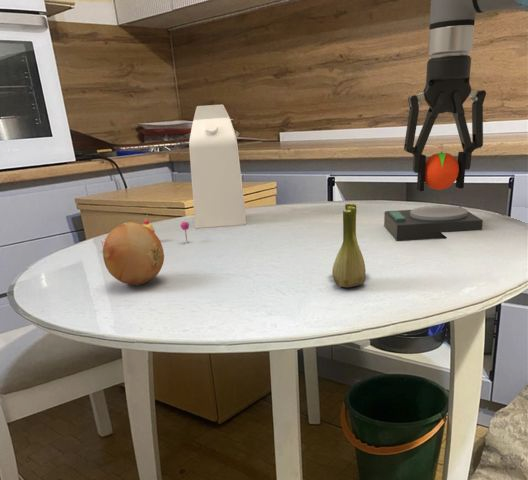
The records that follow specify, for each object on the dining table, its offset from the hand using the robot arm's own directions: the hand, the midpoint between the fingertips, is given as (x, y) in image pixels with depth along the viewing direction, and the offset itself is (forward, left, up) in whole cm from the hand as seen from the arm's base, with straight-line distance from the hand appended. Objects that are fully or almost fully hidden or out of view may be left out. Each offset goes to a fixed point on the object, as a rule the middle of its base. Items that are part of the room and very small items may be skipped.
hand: (439, 188), depth 105 cm
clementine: (0, 0, 0) cm, 1 cm away
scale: (+1, 0, -8) cm, 8 cm away
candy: (+60, -2, -8) cm, 61 cm away
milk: (+46, -22, -8) cm, 52 cm away
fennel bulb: (+21, +32, -8) cm, 39 cm away
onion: (+55, +25, -8) cm, 61 cm away
